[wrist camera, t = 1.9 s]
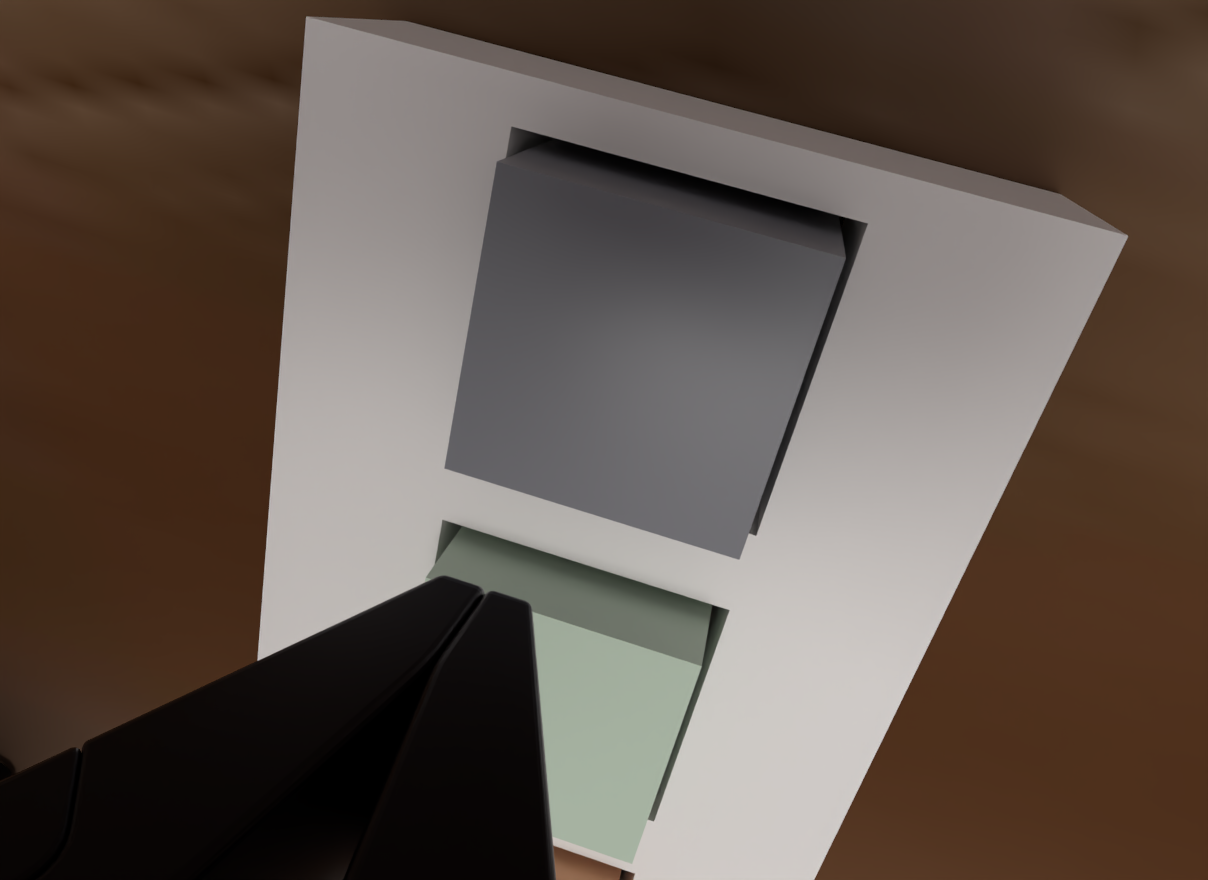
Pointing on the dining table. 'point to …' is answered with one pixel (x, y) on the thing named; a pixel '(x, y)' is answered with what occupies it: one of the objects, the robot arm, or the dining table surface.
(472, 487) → the button panel
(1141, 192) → the dining table surface
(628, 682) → the sage button
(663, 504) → the charcoal button
